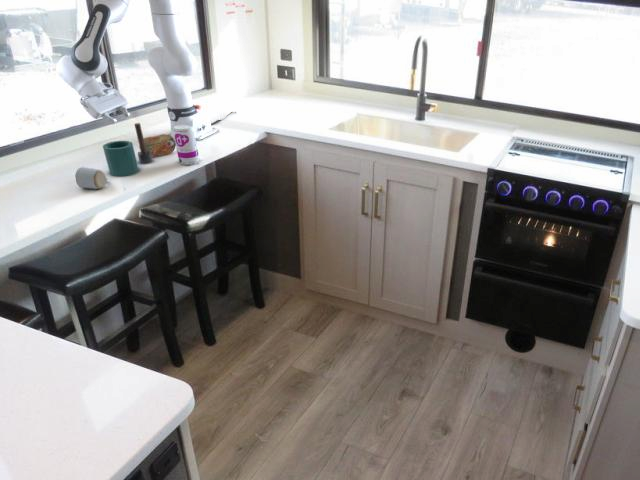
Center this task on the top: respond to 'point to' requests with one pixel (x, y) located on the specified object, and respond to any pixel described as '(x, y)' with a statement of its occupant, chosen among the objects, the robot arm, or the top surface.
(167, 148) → the tin
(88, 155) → the top surface
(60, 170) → the top surface
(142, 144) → the dish brush
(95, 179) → the ceramic mug
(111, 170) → the teal pen holder
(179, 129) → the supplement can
